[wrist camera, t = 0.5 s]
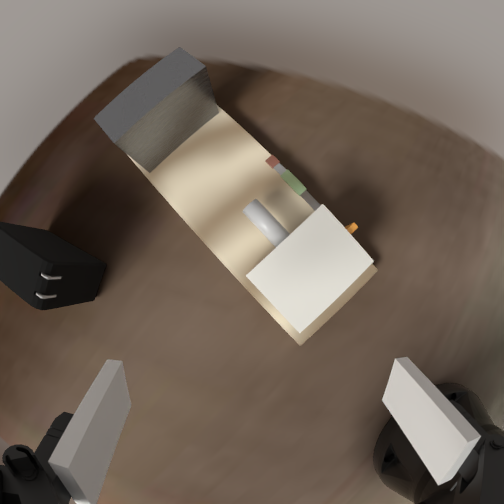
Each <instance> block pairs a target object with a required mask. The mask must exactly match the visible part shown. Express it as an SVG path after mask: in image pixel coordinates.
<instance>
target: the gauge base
mask: <svg viewBox="0 0 504 504" xmlns="http://www.w3.org/2000/svg"><path fill="white" fill-rule="evenodd" d="M217 108H218V111H219V113H218V114H217V115H216V116H214V117H213V118H212V119H211V120H209V121H208V122H207V123H206V124H205V125H203V126H202V127H201V128H200V129H199V130H197V131H196V132H195V133H194V134H193V135H192V136H190V137H189V138H188V139H187V140H186V141H185V142H183V143H182V144H181V145H180V146H179V147H178V148H177V149H176V150H174V151H173V152H172V153H171V154H170V155H169V156H168V157H167V158H166V159H165V160H163V161H162V162H161V163H160V164H159V165H158V166H157V167H156V168H155V169H154V170H153V171H152V172H151V173H149V172H148V171H147V170H145V169H144V168H143V167H142V166H141V165H139V164H138V163H137V162H136V161H135V160H133V159H132V158H131V157H130V156H129V155H128V156H129V157H130V159H131V160H132V161H133V162H134V163H135V164H136V166H137V167H138V168H139V169H140V170H141V171H142V173H143V174H144V175H145V176H146V177H147V178H148V180H149V181H150V182H151V183H152V184H153V185H154V186H155V188H156V189H157V190H158V191H159V192H160V193H161V195H162V196H163V197H164V198H165V199H166V200H167V201H168V203H169V204H170V205H171V206H172V207H173V208H174V209H175V211H176V212H177V213H178V214H179V215H180V216H181V217H182V218H183V220H184V221H185V222H186V223H187V224H188V225H189V226H190V227H191V229H192V230H193V231H194V232H195V233H196V234H197V235H198V236H199V238H200V239H201V240H202V241H203V242H204V243H205V244H206V245H207V246H208V248H209V249H210V250H211V251H212V252H213V253H214V254H215V255H216V256H217V257H218V259H219V260H220V261H221V262H222V263H223V264H224V265H225V266H226V267H227V268H228V270H229V271H230V272H231V273H232V274H233V275H234V276H235V277H236V278H237V279H238V280H239V281H240V283H241V284H242V285H243V286H244V287H245V288H246V289H247V290H248V291H249V292H250V293H251V294H252V296H253V297H254V298H255V299H256V300H257V301H258V302H259V303H260V304H261V305H262V306H263V307H264V308H265V309H266V310H267V312H268V313H269V314H270V315H271V316H272V317H273V318H274V319H275V320H276V321H277V322H278V323H279V324H280V325H281V326H282V327H283V328H284V330H285V331H286V332H287V333H288V334H289V335H290V336H291V337H292V338H293V339H294V340H295V341H296V342H297V343H298V344H299V345H301V344H303V343H304V342H305V341H306V340H307V339H308V338H309V337H310V336H311V335H313V334H314V333H315V332H316V331H317V330H318V329H319V328H320V327H321V326H322V325H323V324H324V323H326V322H327V321H328V320H329V319H330V318H331V317H332V316H333V315H334V314H335V313H336V312H337V311H338V310H339V309H340V308H341V307H342V306H343V305H344V304H345V303H346V302H347V301H348V300H349V299H350V298H351V297H352V296H353V295H354V294H355V293H356V292H357V291H358V290H359V289H360V288H361V287H362V286H363V285H364V284H365V283H366V282H367V281H368V280H369V279H370V278H371V277H372V276H373V275H374V274H375V273H376V272H377V271H378V270H377V269H376V267H375V266H374V265H373V264H371V265H370V266H369V267H368V268H367V269H366V270H365V271H364V272H363V273H362V274H361V275H360V276H359V277H358V278H357V279H356V280H355V281H354V282H353V283H352V284H351V285H350V286H349V287H348V288H347V289H346V290H345V291H344V292H343V293H342V294H341V295H340V296H339V297H338V298H337V299H336V300H335V301H334V302H333V303H332V304H331V305H330V306H329V307H328V308H327V309H326V310H325V311H323V312H322V313H321V314H320V315H319V316H318V317H317V318H316V319H315V320H314V321H313V322H312V323H311V324H310V325H308V326H307V327H306V328H305V329H304V330H303V331H302V332H301V333H299V332H298V331H297V330H296V329H295V328H294V327H293V326H292V325H291V324H290V323H289V322H288V321H287V320H286V318H285V317H284V316H283V315H282V314H281V313H280V312H279V311H278V310H277V309H276V308H275V307H274V306H273V305H272V304H271V302H270V301H269V300H268V299H267V298H266V297H265V296H264V295H263V294H262V293H261V292H260V291H259V290H258V289H257V287H256V286H255V285H254V284H253V283H252V282H251V281H250V280H249V279H248V278H247V277H246V275H247V274H248V273H249V272H250V271H251V270H252V269H253V268H255V267H256V266H257V265H258V264H259V263H260V262H261V261H262V260H263V259H264V258H265V257H266V256H267V255H269V254H270V253H271V252H272V251H273V250H274V249H275V248H276V247H275V246H274V245H273V244H272V243H271V242H270V241H269V240H268V239H267V238H266V237H265V236H264V234H263V233H262V232H261V231H260V230H259V229H258V228H257V227H256V226H255V225H254V224H253V223H252V222H251V221H250V220H249V218H248V217H247V216H246V215H245V214H244V213H243V210H244V208H245V207H246V206H247V205H248V204H249V203H250V202H252V201H253V200H254V199H257V200H258V201H259V202H260V203H261V204H262V205H263V206H264V207H265V208H266V209H267V210H268V211H269V212H270V213H271V214H272V215H273V216H274V217H275V218H276V220H277V221H278V222H279V223H280V224H281V225H282V226H283V227H284V228H285V229H286V230H287V231H288V232H289V233H290V234H291V233H292V232H293V231H294V230H295V229H296V228H298V227H299V226H300V225H301V224H302V223H303V222H304V221H305V220H306V219H307V218H308V217H309V216H310V215H311V214H312V213H314V212H315V211H316V210H317V209H318V208H319V207H320V206H321V205H320V204H319V203H318V202H317V201H316V200H315V199H314V198H313V197H312V196H311V195H310V194H309V193H308V192H307V190H306V188H305V186H304V185H303V184H302V183H301V182H300V181H299V180H298V179H297V178H296V177H295V176H294V175H293V174H292V173H291V172H290V171H289V170H288V169H287V170H286V169H285V168H284V167H283V166H282V165H281V164H280V161H279V160H278V159H277V158H276V157H275V156H274V155H273V154H272V155H271V154H270V153H269V152H268V151H266V150H265V149H264V148H263V147H262V146H261V145H260V144H259V143H258V142H257V141H256V140H255V139H254V138H253V137H252V136H251V135H250V134H249V133H248V132H246V131H245V130H244V129H243V128H242V127H241V126H240V125H239V124H238V123H237V122H236V121H235V120H233V119H232V118H231V117H230V116H229V115H228V114H227V113H226V112H225V111H223V110H222V109H221V108H220V107H219V106H218V105H217Z"/></svg>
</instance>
